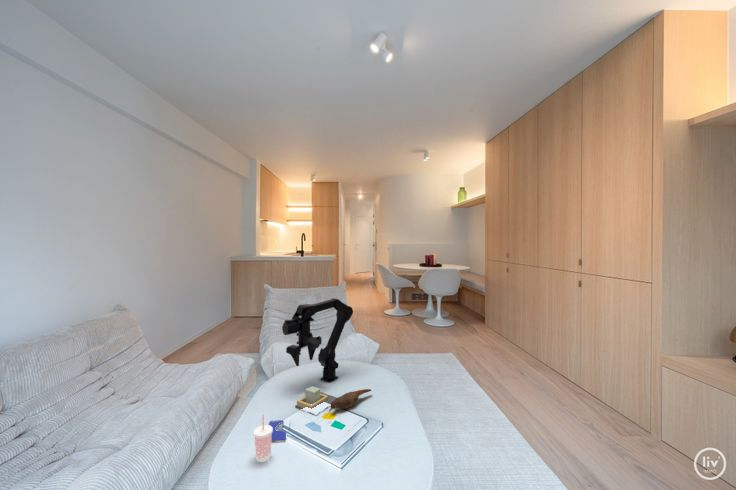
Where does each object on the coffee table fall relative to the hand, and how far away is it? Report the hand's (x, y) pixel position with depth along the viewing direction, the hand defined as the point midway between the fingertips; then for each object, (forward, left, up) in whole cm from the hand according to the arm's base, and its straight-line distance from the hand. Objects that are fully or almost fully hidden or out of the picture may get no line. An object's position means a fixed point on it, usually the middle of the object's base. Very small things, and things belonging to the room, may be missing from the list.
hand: (304, 362), depth 155 cm
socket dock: (+8, +16, -12) cm, 22 cm away
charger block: (+10, +15, -11) cm, 21 cm away
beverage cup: (+44, +24, -12) cm, 52 cm away
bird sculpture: (+1, +29, -12) cm, 31 cm away
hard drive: (+32, +17, -13) cm, 39 cm away
